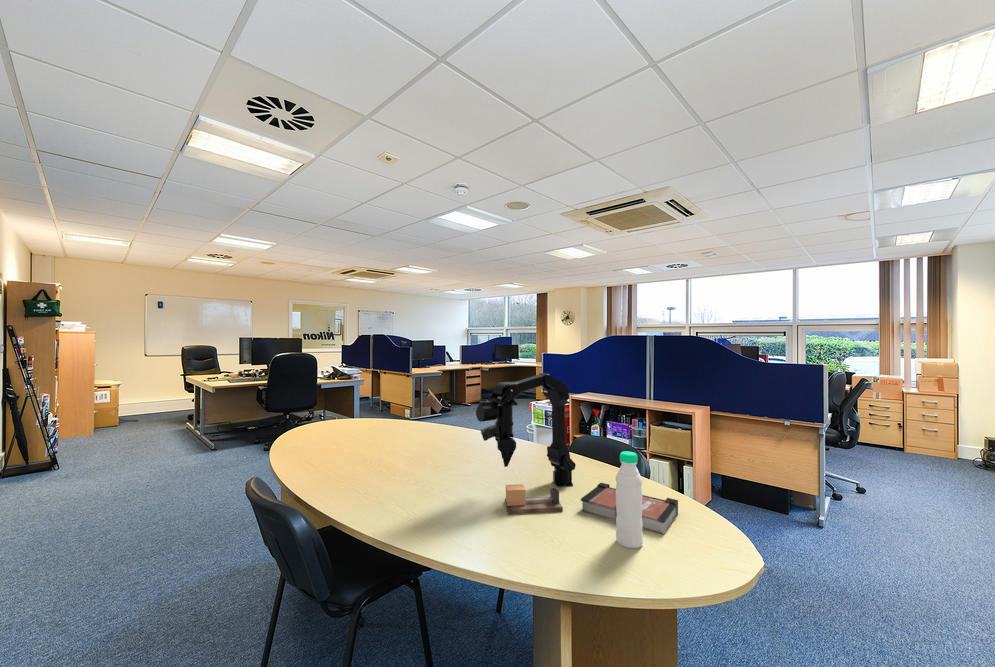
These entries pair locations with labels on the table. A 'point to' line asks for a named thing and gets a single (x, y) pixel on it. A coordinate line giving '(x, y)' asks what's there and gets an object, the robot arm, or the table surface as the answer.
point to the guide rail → (553, 498)
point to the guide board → (534, 507)
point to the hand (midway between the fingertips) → (504, 462)
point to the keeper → (515, 495)
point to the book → (653, 510)
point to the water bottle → (629, 502)
